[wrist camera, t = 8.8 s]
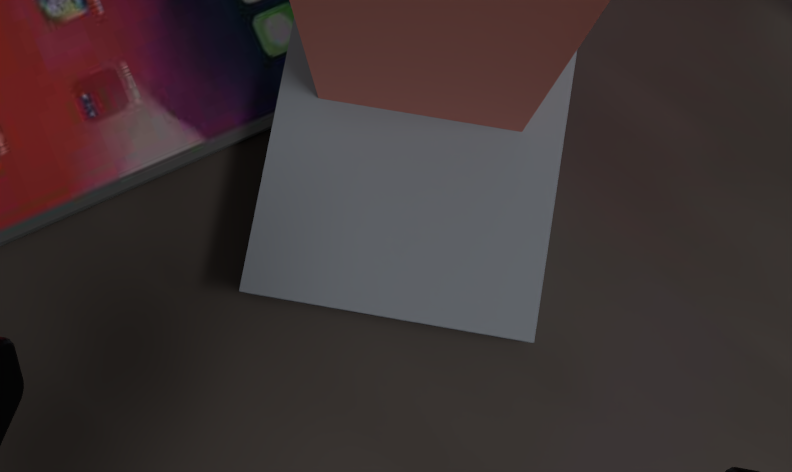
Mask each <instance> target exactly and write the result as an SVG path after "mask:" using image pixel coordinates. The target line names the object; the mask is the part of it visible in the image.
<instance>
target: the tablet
mask: <svg viewBox="0 0 792 472" xmlns="http://www.w3.org/2000/svg"><path fill="white" fill-rule="evenodd" d="M293 20H294V14H293V11H292V8H291V4H290V1H289V0H0V246H2V245H5V244H7V243H9V242H12V241H14V240H16V239H18V238H21V237H23V236H25V235H28V234H30V233H32V232H35V231H37V230H39V229H41V228H44V227H46V226H48V225H51V224H53V223H55V222H57V221H60V220H62V219H64V218H67V217H69V216H71V215H74V214H76V213H78V212H80V211H83V210H85V209H87V208H90V207H92V206H94V205H97V204H99V203H101V202H103V201H106V200H108V199H110V198H113V197H115V196H117V195H119V194H122V193H124V192H126V191H129V190H131V189H133V188H136V187H138V186H140V185H142V184H145V183H147V182H149V181H152V180H154V179H156V178H159V177H161V176H163V175H165V174H168V173H170V172H172V171H175V170H177V169H179V168H181V167H184V166H186V165H188V164H191V163H193V162H195V161H198V160H200V159H202V158H204V157H207V156H209V155H211V154H214V153H216V152H218V151H221V150H223V149H225V148H227V147H230V146H232V145H234V144H237V143H239V142H241V141H243V140H246V139H248V138H250V137H253V136H255V135H257V134H260V133H262V132H264V131H266V130H269V129H271V128H272V124H273V119H274V114H275V109H276V104H277V99H278V94H279V89H280V84H281V79H282V75H283V70H284V65H285V60H286V55H287V50H288V45H289V40H290V35H291V30H292V25H293Z"/></svg>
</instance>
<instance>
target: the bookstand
mask: <svg viewBox="0 0 792 472" xmlns="http://www.w3.org/2000/svg"><path fill="white" fill-rule="evenodd" d="M576 54H577V51H576V52H575V54H574V55H573V57H572V58H571V60H570V61H569V63H568V64H567V66H566V67H565V69H564V70H563V72H562V73H561V75H560V76H559V78H558V79H557V81H556V82H555V84H554V85H553V87H552V88H551V89H550V91H549V92H548V94H547V95H546V97H545V98H544V100H543V101H542V103H541V104H540V106H539V107H538V109H537V110H536V112H535V113H534V115H533V116H532V118H531V119H530V121H529V122H528V124H527V125H526V127H525V128H524V130H523V131H522V132H519V131H513V130H507V129H501V128H495V127H489V126H483V125H477V124H471V123H465V122H459V121H453V120H447V119H441V118H435V117H429V116H423V115H417V114H411V113H404V112H398V111H392V110H386V109H380V108H374V107H368V106H362V105H356V104H350V103H344V102H338V101H332V100H326V99H320V98H318V95H317V91H316V88H315V85H314V81H313V78H312V75H311V71H310V68H309V65H308V61H307V58H306V55H305V51H304V48H303V45H302V41H301V38H300V35H299V31H298V28H297V24H296V21H295V18H294V20H293V25H292V30H291V35H290V40H289V45H288V50H287V55H286V60H285V65H284V70H283V75H282V79H281V84H280V89H279V94H278V99H277V104H276V109H275V114H274V119H273V124H272V129H271V134H270V139H269V144H268V149H267V154H266V159H265V164H264V169H263V174H262V179H261V184H260V189H259V194H258V199H257V204H256V209H255V214H254V219H253V224H252V229H251V234H250V239H249V244H248V249H247V253H246V258H245V263H244V268H243V273H242V278H241V283H240V288H239V291H240V292H244V293H248V294H253V295H259V296H265V297H271V298H276V299H282V300H288V301H293V302H299V303H305V304H311V305H316V306H322V307H328V308H334V309H339V310H345V311H351V312H356V313H362V314H368V315H374V316H379V317H385V318H391V319H397V320H402V321H408V322H414V323H419V324H425V325H431V326H437V327H442V328H448V329H454V330H459V331H465V332H471V333H477V334H482V335H488V336H494V337H500V338H505V339H511V340H517V341H522V342H531V343H534V339H535V332H536V325H537V319H538V312H539V305H540V298H541V291H542V285H543V278H544V271H545V264H546V258H547V251H548V244H549V237H550V230H551V224H552V217H553V210H554V203H555V196H556V190H557V183H558V176H559V169H560V162H561V156H562V149H563V142H564V135H565V129H566V122H567V115H568V108H569V101H570V95H571V88H572V81H573V74H574V67H575V61H576Z"/></svg>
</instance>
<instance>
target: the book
mask: <svg viewBox="0 0 792 472" xmlns="http://www.w3.org/2000/svg"><path fill="white" fill-rule="evenodd" d="M289 1H290V4H291V8H292V11H293V14H294V18H295V21H296V24H297V28H298V31H299V35H300V38H301V41H302V45H303V48H304V51H305V55H306V58H307V61H308V65H309V68H310V71H311V75H312V78H313V81H314V85H315V88H316V91H317V95H318V98H320V99H326V100H332V101H338V102H344V103H350V104H356V105H362V106H368V107H374V108H380V109H386V110H392V111H398V112H404V113H411V114H417V115H423V116H429V117H435V118H441V119H447V120H453V121H459V122H465V123H471V124H477V125H483V126H489V127H495V128H501V129H507V130H513V131H519V132H522V131H523V130H524V128H525V127H526V125H527V124H528V122H529V121H530V119H531V118H532V116H533V115H534V113H535V112H536V110H537V109H538V107H539V106H540V104H541V103H542V101H543V100H544V98H545V97H546V95H547V94H548V92H549V91H550V89H551V88H552V87H553V85H554V84H555V82H556V81H557V79H558V78H559V76H560V75H561V73H562V72H563V70H564V69H565V67H566V66H567V64H568V63H569V61H570V60H571V58H572V57H573V55H574V54H575V52H576V51H577V49H578V48H579V46H580V45H581V43H582V42H583V40H584V39H585V37H586V36H587V34H588V33H589V31H590V30H591V28H592V27H593V25H594V24H595V22H596V21H597V19H598V18H599V16H600V15H601V13H602V12H603V10H604V9H605V7H606V6H607V4H608V3H609V1H610V0H289Z"/></svg>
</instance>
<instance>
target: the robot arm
mask: <svg viewBox="0 0 792 472" xmlns="http://www.w3.org/2000/svg"><path fill="white" fill-rule="evenodd" d="M23 389H24V383H23V377H22V373H21V370H20V366H19V362H18V358H17V354H16V350H15V347H14V344H13V343H12V342H11V341H10V340H9V339H7V338H4V337H0V445H1V443H2V441H3V438H4V436H5V434H6V432H7V429H8V427H9V425H10V423H11V421H12V418H13V416H14V414H15V412H16V410H17V407H18V405H19V403H20V401H21V398H22V394H23ZM725 472H759V471H754V470H749V469H743V468H737V467H732V468H730V469H728V470H726V471H725Z"/></svg>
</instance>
